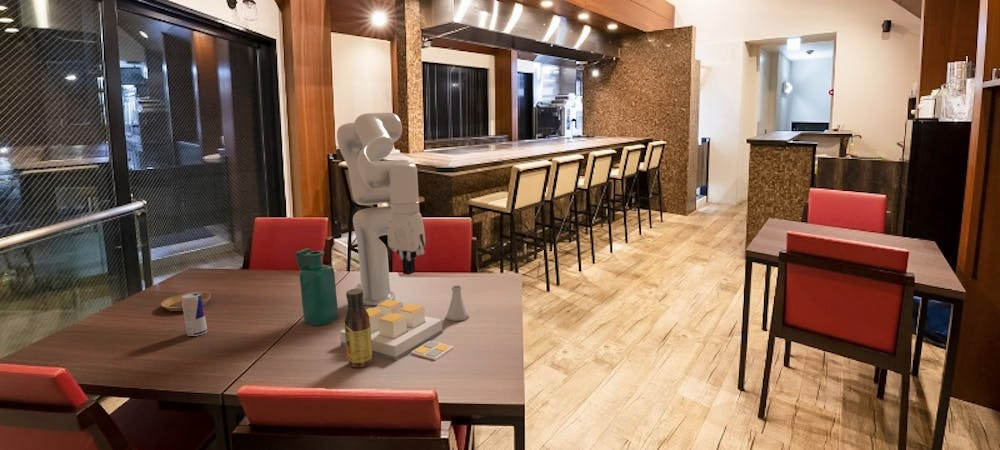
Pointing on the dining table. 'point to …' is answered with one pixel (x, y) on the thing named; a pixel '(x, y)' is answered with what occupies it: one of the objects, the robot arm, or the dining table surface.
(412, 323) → the button
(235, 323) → the dining table surface
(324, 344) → the dining table surface
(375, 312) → the button
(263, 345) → the dining table surface
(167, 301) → the plant saucer
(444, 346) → the card
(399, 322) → the button
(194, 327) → the energy drink
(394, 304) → the button
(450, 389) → the dining table surface
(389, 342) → the button board
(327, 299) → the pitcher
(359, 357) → the sauce bottle
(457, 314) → the flask
